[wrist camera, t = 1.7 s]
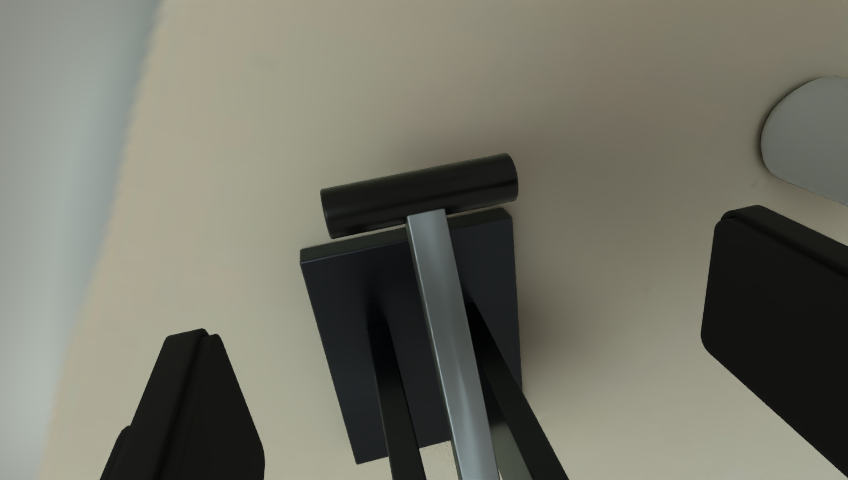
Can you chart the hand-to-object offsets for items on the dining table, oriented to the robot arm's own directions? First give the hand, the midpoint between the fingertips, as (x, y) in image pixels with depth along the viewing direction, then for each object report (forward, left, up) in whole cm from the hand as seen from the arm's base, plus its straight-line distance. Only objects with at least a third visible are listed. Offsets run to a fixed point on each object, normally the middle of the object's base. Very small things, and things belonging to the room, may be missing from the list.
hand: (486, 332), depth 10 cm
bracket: (+6, +7, -13) cm, 16 cm away
